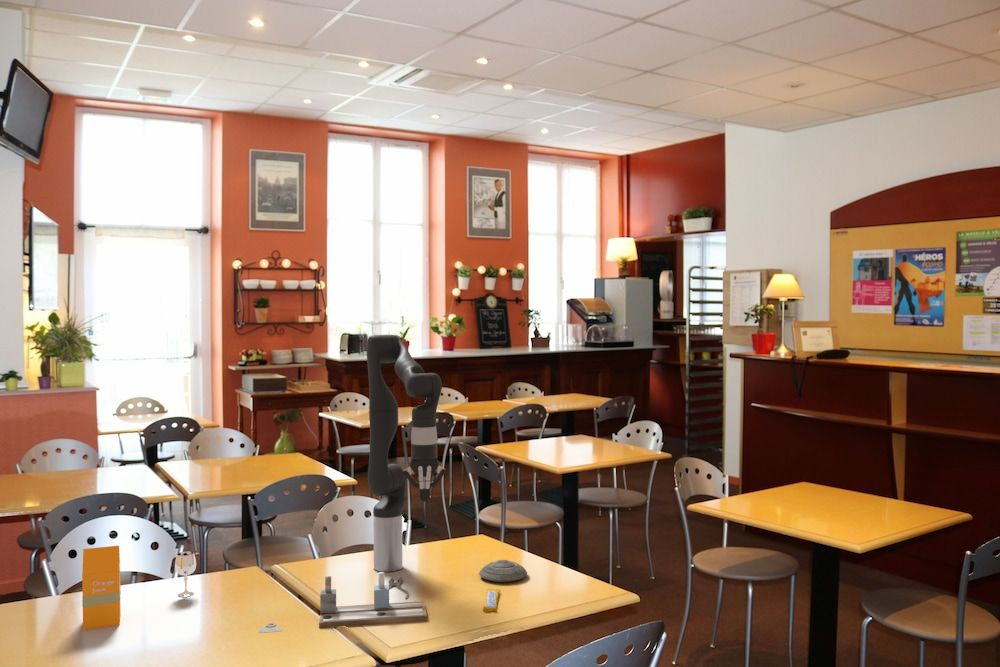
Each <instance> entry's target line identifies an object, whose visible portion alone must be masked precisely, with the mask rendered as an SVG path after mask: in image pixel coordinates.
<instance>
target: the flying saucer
mask: <svg viewBox="0 0 1000 667" xmlns="http://www.w3.org/2000/svg"><path fill="white" fill-rule="evenodd" d="M478 575H479V576H480V577H481V578H483V579H485V580H487V581H491V582H497V583H508V582H514V581H520V580H522V579H524V578H526V576H527V575H528V571H527V570H526V569H525V567H523V566H522V565H521V564H520V563H517V562H515V561H511V560H508V559H499V560H496V561H492V562H488V564H485V565H484V566H483V567H482V568H481V569H480V570H479V572H478Z"/></svg>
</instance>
